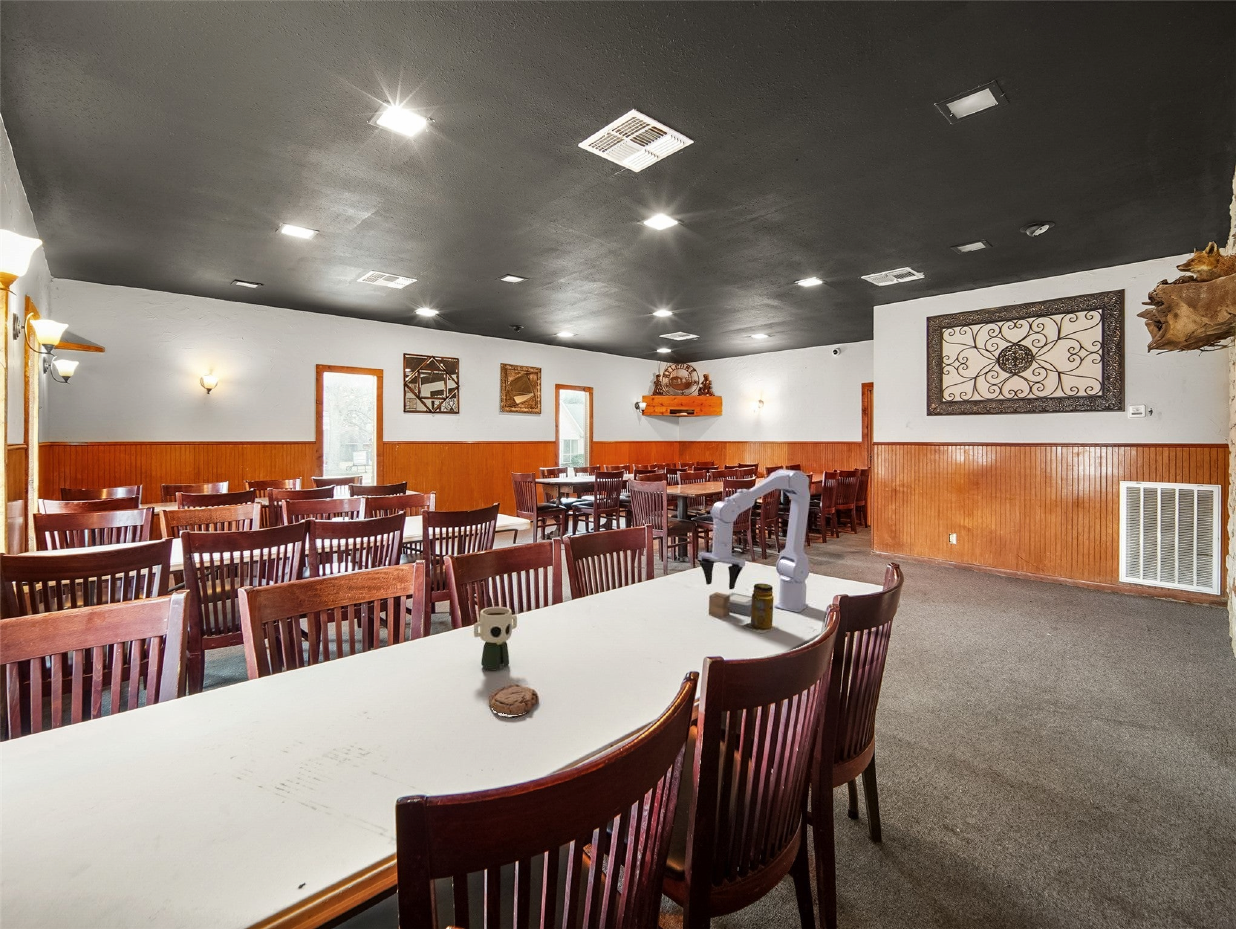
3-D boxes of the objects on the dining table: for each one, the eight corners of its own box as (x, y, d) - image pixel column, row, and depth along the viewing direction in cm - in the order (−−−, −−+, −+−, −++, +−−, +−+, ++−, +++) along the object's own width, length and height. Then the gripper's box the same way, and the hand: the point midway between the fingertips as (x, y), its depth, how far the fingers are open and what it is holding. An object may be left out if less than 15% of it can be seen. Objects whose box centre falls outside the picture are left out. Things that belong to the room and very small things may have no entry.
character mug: (481, 677, 129) (481, 619, 128) (466, 667, 134) (466, 611, 133) (523, 665, 136) (524, 610, 135) (508, 656, 141) (509, 603, 141)
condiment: (778, 627, 168) (780, 585, 167) (762, 633, 162) (763, 591, 162) (756, 620, 173) (758, 580, 173) (739, 626, 168) (741, 585, 167)
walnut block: (715, 611, 182) (716, 592, 181) (729, 614, 179) (730, 594, 178) (708, 614, 178) (709, 595, 178) (722, 618, 175) (723, 598, 175)
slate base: (732, 601, 192) (732, 592, 192) (760, 607, 186) (761, 598, 186) (717, 608, 184) (718, 598, 184) (747, 615, 178) (747, 605, 178)
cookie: (489, 721, 111) (490, 705, 110) (487, 696, 121) (487, 682, 121) (542, 716, 113) (543, 701, 113) (535, 692, 123) (536, 678, 123)
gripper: (694, 539, 178) (692, 584, 179) (738, 547, 169) (736, 593, 170) (705, 537, 184) (703, 580, 184) (749, 543, 175) (746, 588, 176)
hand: (720, 586), depth 178 cm, fingers open, 7 cm apart
